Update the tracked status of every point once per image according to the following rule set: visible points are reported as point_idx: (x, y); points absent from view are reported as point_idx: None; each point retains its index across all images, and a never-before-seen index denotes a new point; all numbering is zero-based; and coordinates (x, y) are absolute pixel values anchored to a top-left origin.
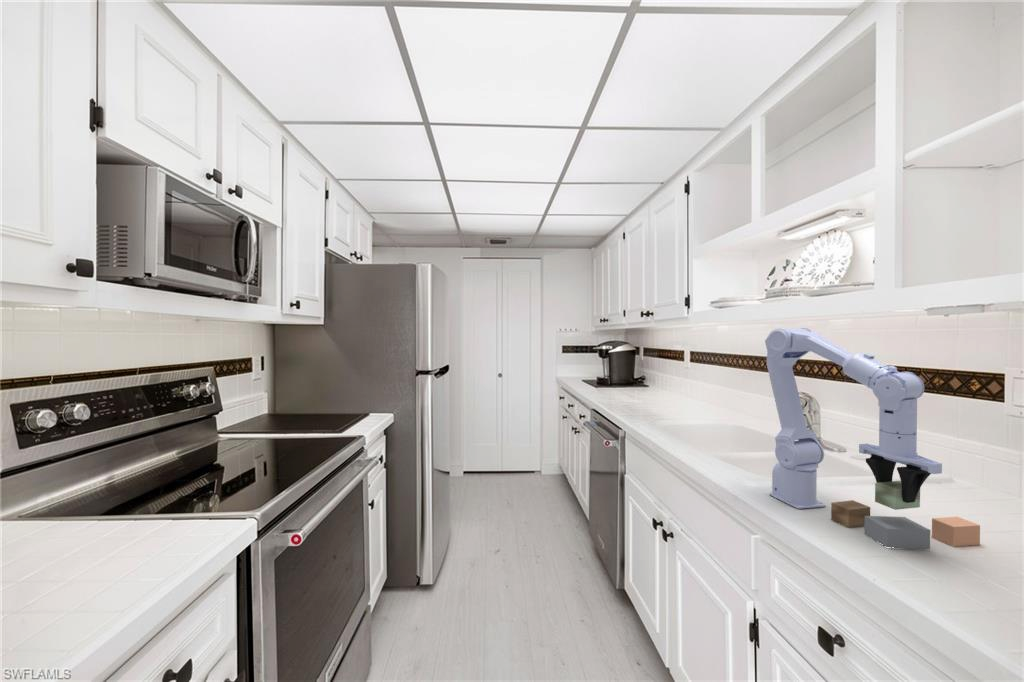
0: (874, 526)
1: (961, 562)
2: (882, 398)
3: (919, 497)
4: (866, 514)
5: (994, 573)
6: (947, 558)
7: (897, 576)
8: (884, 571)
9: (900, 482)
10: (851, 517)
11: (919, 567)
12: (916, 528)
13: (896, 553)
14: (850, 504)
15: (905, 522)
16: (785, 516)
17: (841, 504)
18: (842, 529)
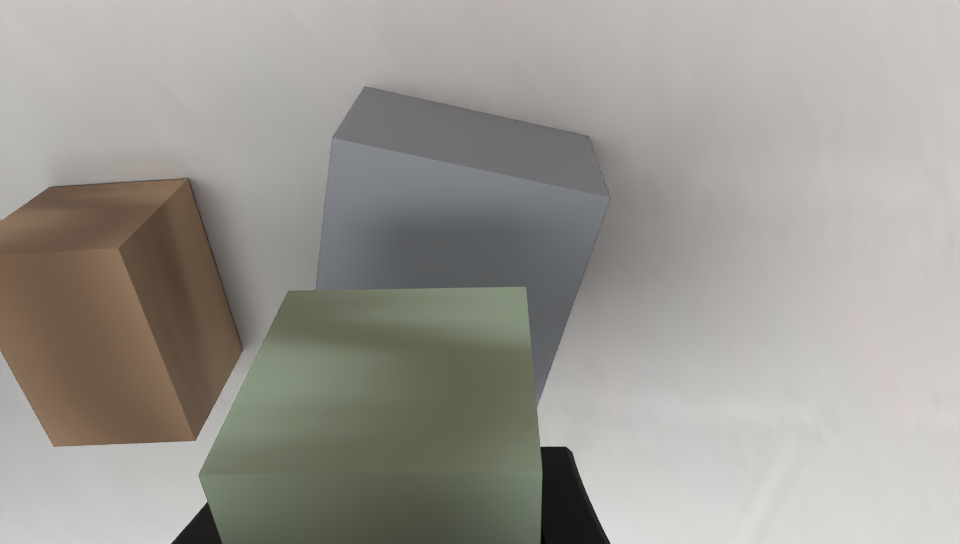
0: None
1: (773, 111)
2: None
3: (532, 371)
4: (163, 256)
5: (945, 51)
6: (706, 146)
7: (729, 527)
8: (682, 538)
9: (285, 520)
10: (209, 373)
11: (714, 390)
12: (559, 275)
13: (571, 367)
14: (74, 353)
15: (445, 248)
16: (99, 528)
17: (83, 410)
18: None
